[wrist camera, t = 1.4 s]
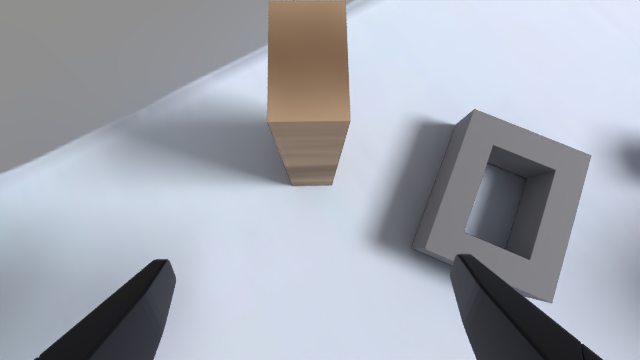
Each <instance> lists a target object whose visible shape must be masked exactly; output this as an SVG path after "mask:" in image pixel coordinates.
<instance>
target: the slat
mask: <svg viewBox="0 0 640 360" xmlns="http://www.w3.org/2000/svg"><path fill="white" fill-rule="evenodd" d="M268 34H269V35H268V104H267V123H268V125H269V128H270V130H271V133H272V135H273V138H274V140H275V143H276V145H277V148H278V150H279V153H280V156H281V158H282V161H283V163H284V166H285V168H286V171H287V173H288V176H289V178H290V181H291V183H292V186H319V185H332V183H333V180H334V176H335V173H336V169H337V166H338V162H339V159H340V155H341V152H342V149H343V145H344V142H345V138H346V135H347V131H348V128H349V124H350V97H349V72H348V48H347V23H346V2H345V1H269V31H268Z"/></svg>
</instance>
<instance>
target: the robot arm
mask: <svg viewBox="0 0 640 360" xmlns="http://www.w3.org/2000/svg"><path fill="white" fill-rule="evenodd" d="M450 278H451V282H452V286H453V289H454V293H455V297H456V300H457V304H458V308H459V312H460V315H461V319H462V322H463V325H464V328H465V331H466V333H467V336H468V339H469V341H470V344H471V346H472V349H473V351H474V354H475V356H476V359H477V360H603V359H602V358H600V357H599V356H598V355H596V354H595V353H594V352H593V351H591V350H590V349H589V348H588V347H586V346H585V345H584V344H581V342H580V341H579V340H578V339H576V338H575V337H574V336H573V335H571V334H570V333H569V332H568V331H566V330H565V329H564V328H563V327H561V326H560V325H559V324H558V323H556V322H555V321H554V320H553V319H551V318H550V317H549V316H548V315H546V314H545V313H544V312H543V311H541V310H540V309H539V308H538V307H536V306H535V305H534V304H533V303H531V302H530V301H529V300H528V299H526V298H525V297H524V296H523V295H521V294H520V293H519V292H518V291H516V290H515V289H514V288H513V287H511V286H510V285H509V284H508V283H506V282H505V281H504V280H503V279H501V278H500V277H499V276H498V275H496V274H495V273H494V272H493V271H491V270H490V269H489V268H488V267H486V266H485V265H484V264H483V263H481V262H480V261H479V260H478V259H476V258H475V257H474V256H473V255H471V254H457V255H456V256H455V258H454V261H453V264H452V267H451V270H450ZM175 284H176V277H175V274H174V271H173V268H172V266H171V263H170V261H169V260H168V259H156V260H153V261H152V262H151V263H149V264H148V265H147V266H146V267H145V268H143V269H142V270H141V271H140V272H139V273H137V274H136V275H135V276H134V277H133V278H131V279H130V280H129V281H128V282H127V283H125V284H124V285H123V286H122V287H121V288H119V289H118V290H117V291H116V292H115V293H113V294H112V295H111V296H110V297H109V298H108V299H106V300H105V301H104V302H103V303H102V304H100V305H99V306H98V307H97V308H96V309H94V310H93V311H92V312H91V313H90V314H88V315H87V316H86V317H85V318H84V319H82V320H81V321H80V322H79V323H78V324H76V325H75V326H74V327H73V328H72V329H70V330H69V331H68V332H67V333H66V334H64V335H63V336H62V337H61V338H60V339H58V340H57V341H56V342H55V343H54V344H52V345H51V346H50V347H49V348H48V349H46V350H45V351H44V352H43V353H42V354H41V355H40V356H39V357H37V358H36V359H34V360H153V359H154V357H155V354H156V351H157V348H158V346H159V343H160V340H161V337H162V334H163V331H164V328H165V324H166V320H167V316H168V312H169V308H170V304H171V300H172V296H173V292H174V288H175Z"/></svg>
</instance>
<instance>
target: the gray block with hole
mask: <svg viewBox="0 0 640 360" xmlns="http://www.w3.org/2000/svg"><path fill="white" fill-rule="evenodd" d="M590 159H591V155H589V154H586V153H584V152H581V151H579V150H576V149H574V148H571V147H569V146H566V145H564V144H561V143H559V142H556V141H554V140H551V139H549V138H546V137H544V136H541V135H539V134H536V133H534V132H531V131H529V130H526V129H524V128H521V127H519V126H516V125H514V124H511V123H508V122H506V121H503V120H501V119H498V118H496V117H493V116H491V115H488V114H486V113H483V112H481V111H478V110H476V109H474V110H473V111H472V112H470V113H469V114H468V115H467V116H466V117H464V118H463V119H462V120H461V121H460V122H458V123H457V124H456V126H455V128H454V131H453V134H452V137H451V139H450V142H449V145H448V148H447V150H446V153H445V156H444V159H443V161H442V164H441V167H440V170H439V172H438V175H437V178H436V181H435V183H434V186H433V189H432V192H431V194H430V197H429V200H428V203H427V205H426V208H425V211H424V214H423V216H422V219H421V222H420V225H419V227H418V230H417V233H416V236H415V238H414V241H413V244H412V247H411V248H412V249H415V250H417V251H419V252H422V253H424V254H426V255H428V256H431V257H433V258H435V259H438V260H440V261H442V262H445V263H447V264H449V265H452V264H453V261H454V258H455V256H456V255H457V254H471V255H473V256H474V257H475V258H476V259H478V260H479V261H480V262H481V263H483V264H484V265H485V266H486V267H488V268H489V269H490V270H491V271H493V272H494V273H495V274H496V275H498V276H499V277H500V278H501V279H503V280H504V281H505V282H506V283H508V284H509V285H510V286H511V287H513V288H514V289H515V290H516V291H518V292H519V293H520V294H521V295H523V296H525V297H529V298H533V299H537V300H541V301H545V302H549V303H552V301H553V297H554V294H555V290H556V286H557V282H558V279H559V275H560V271H561V267H562V264H563V260H564V256H565V252H566V249H567V245H568V241H569V237H570V234H571V230H572V226H573V222H574V219H575V215H576V211H577V207H578V204H579V200H580V196H581V192H582V189H583V185H584V181H585V177H586V174H587V170H588V166H589V162H590ZM487 163H489V164H492V165H494V166H497V167H499V168H502V169H504V170H507V171H509V172H512V173H514V174H516V175H519V176H521V177H524V178H526V179H527V181H526V184H525V187H524V190H523V194H522V197H521V200H520V203H519V207H518V210H517V213H516V217H515V220H514V223H513V226H512V230H511V233H510V236H509V240H508V243H507V246H506V249H502V248H500V247H497V246H495V245H493V244H490V243H488V242H486V241H483V240H481V239H479V238H476V237H474V236H472V235H469V234H467V233H464V231H465V228H466V225H467V222H468V219H469V216H470V213H471V210H472V207H473V204H474V201H475V198H476V195H477V192H478V189H479V186H480V183H481V180H482V177H483V174H484V171H485V168H486V165H487Z"/></svg>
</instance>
